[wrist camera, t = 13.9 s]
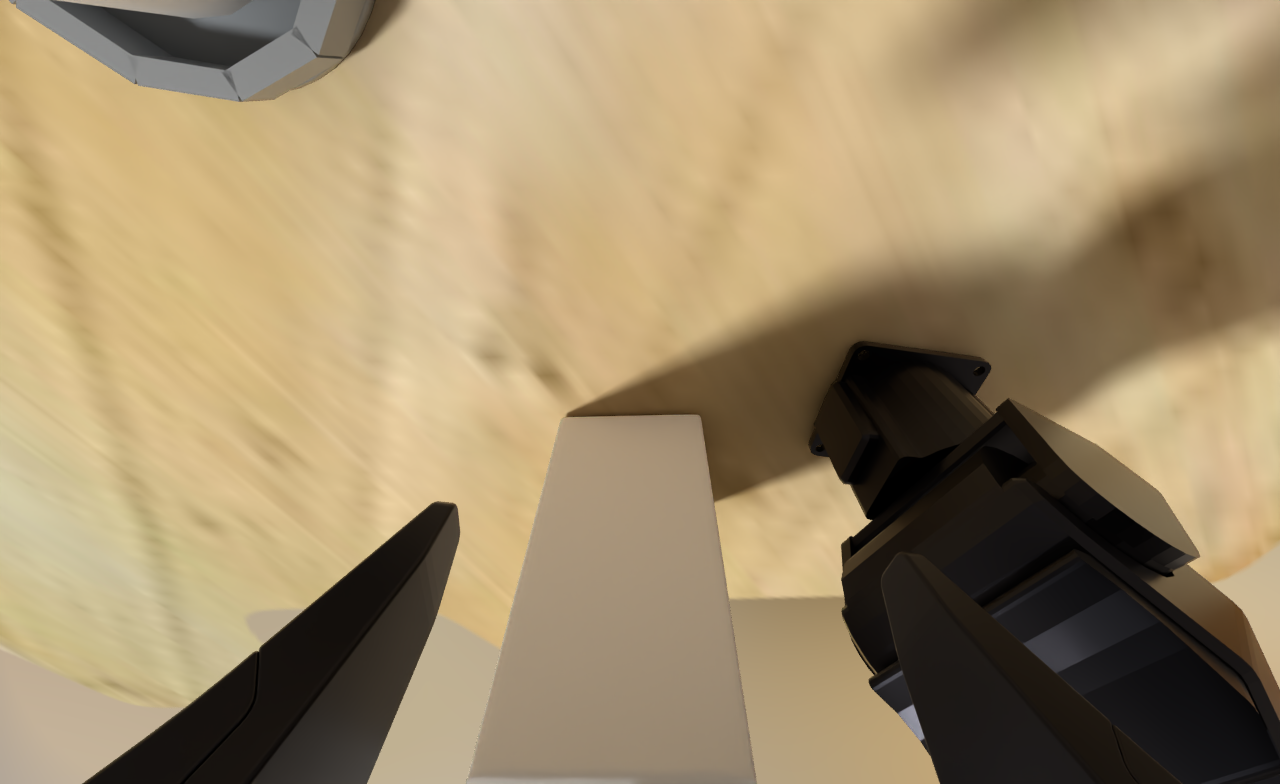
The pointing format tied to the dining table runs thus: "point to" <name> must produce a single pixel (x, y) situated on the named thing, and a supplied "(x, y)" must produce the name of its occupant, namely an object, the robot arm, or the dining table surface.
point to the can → (173, 6)
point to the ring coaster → (214, 44)
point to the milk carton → (620, 621)
